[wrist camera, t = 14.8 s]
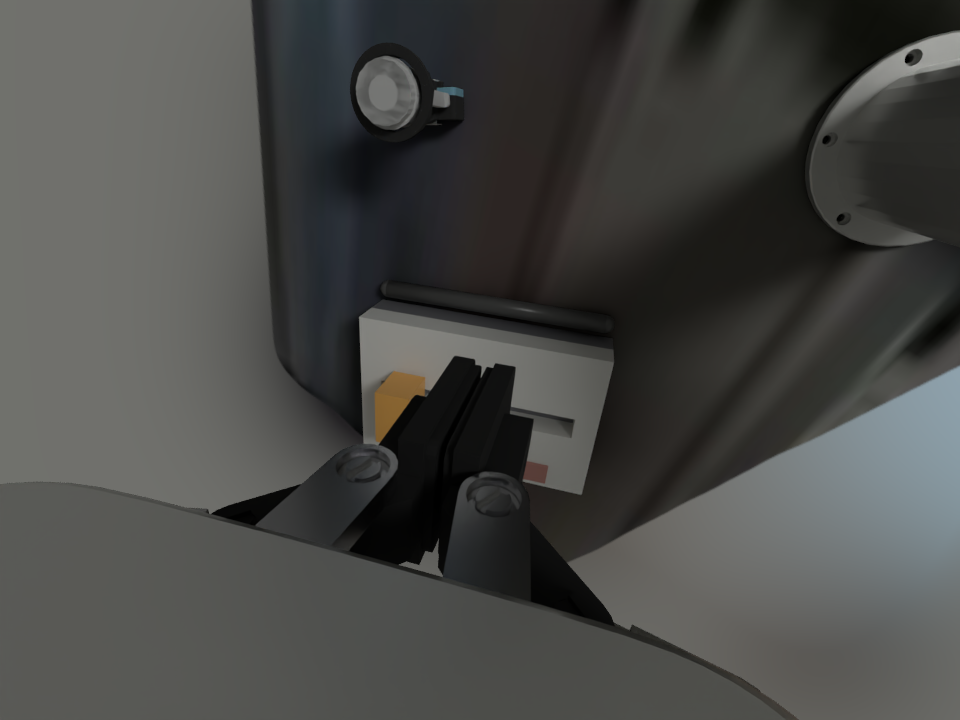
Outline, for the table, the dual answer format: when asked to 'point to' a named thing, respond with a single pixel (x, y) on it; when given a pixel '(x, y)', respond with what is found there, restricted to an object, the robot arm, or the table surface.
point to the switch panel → (530, 348)
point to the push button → (400, 94)
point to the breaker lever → (395, 399)
